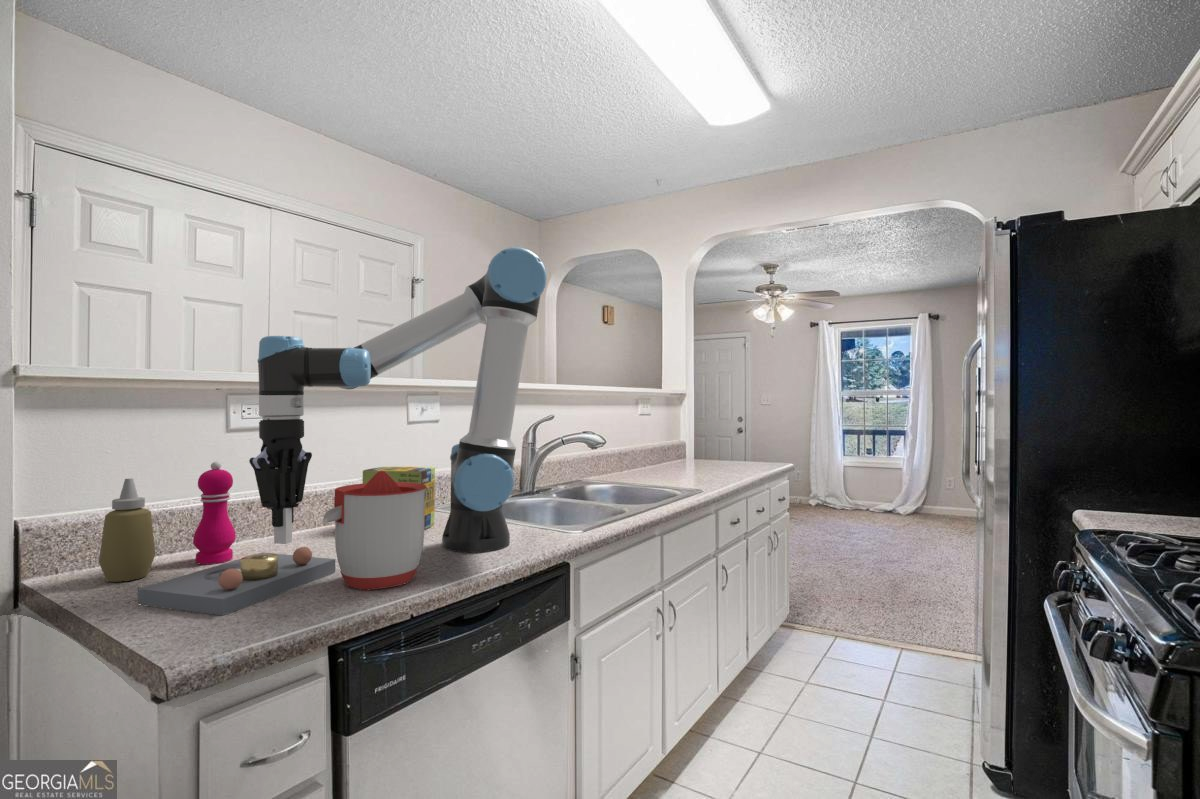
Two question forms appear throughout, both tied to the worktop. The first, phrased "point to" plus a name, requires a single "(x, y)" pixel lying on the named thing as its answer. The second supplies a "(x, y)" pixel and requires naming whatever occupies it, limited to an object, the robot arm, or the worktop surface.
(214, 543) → the pepper mill
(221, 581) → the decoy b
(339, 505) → the citrus juicer
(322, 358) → the robot arm
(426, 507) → the protein box
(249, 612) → the worktop surface
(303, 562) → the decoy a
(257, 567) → the short gold cylinder
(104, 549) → the squeeze bottle
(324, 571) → the grey tray
